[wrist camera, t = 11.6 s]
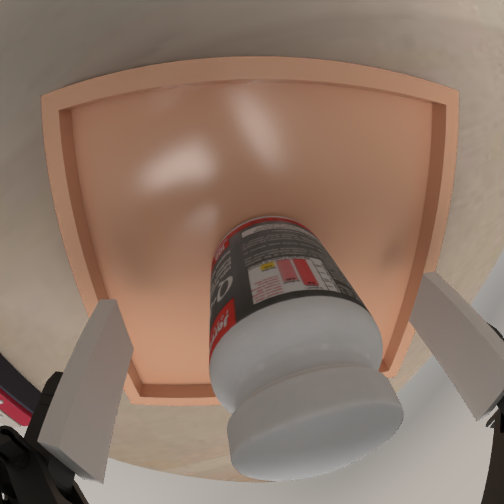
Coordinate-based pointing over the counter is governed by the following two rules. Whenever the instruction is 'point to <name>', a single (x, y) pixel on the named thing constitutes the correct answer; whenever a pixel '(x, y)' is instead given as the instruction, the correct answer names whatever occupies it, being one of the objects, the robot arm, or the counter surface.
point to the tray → (244, 191)
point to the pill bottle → (294, 355)
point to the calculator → (16, 396)
